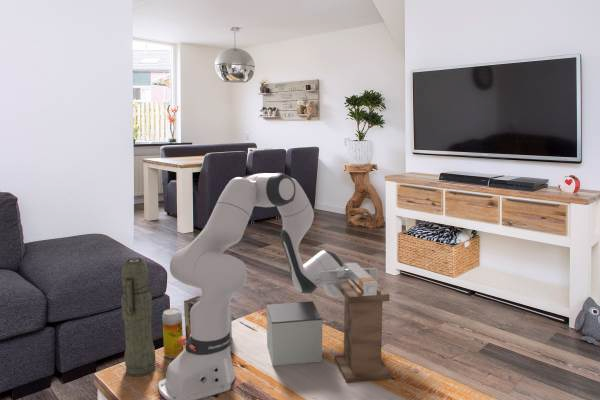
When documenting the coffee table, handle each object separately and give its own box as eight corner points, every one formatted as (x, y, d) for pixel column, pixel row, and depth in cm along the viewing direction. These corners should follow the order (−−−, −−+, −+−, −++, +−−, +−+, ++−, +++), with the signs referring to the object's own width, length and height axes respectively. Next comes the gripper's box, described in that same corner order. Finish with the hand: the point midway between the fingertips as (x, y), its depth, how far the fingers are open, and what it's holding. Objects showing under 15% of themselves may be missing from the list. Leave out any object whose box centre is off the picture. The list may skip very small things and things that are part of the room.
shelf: (267, 344, 163) (266, 304, 160) (312, 340, 165) (312, 301, 163) (272, 366, 148) (272, 322, 146) (322, 361, 151) (322, 318, 149)
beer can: (178, 359, 152) (176, 315, 150) (161, 358, 153) (158, 314, 151) (186, 351, 158) (184, 308, 156) (169, 349, 159) (167, 307, 157)
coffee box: (216, 346, 162) (215, 301, 159) (201, 352, 157) (200, 306, 154) (200, 338, 167) (198, 295, 165) (185, 344, 163) (183, 300, 160)
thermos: (159, 359, 153) (153, 254, 147) (151, 378, 141) (144, 265, 136) (131, 360, 152) (124, 255, 147) (120, 379, 140) (113, 266, 135)
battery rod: (343, 274, 155) (344, 262, 155) (355, 274, 156) (355, 262, 155) (364, 297, 135) (364, 283, 134) (377, 296, 136) (378, 282, 135)
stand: (334, 360, 152) (334, 278, 147) (375, 356, 154) (377, 276, 150) (346, 383, 138) (347, 294, 134) (391, 378, 141) (394, 291, 136)
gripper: (313, 272, 163) (321, 263, 150) (369, 269, 167) (382, 259, 154) (315, 291, 161) (323, 282, 148) (372, 287, 164) (385, 279, 152)
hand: (353, 271), depth 151 cm, fingers closed on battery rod, 4 cm apart
